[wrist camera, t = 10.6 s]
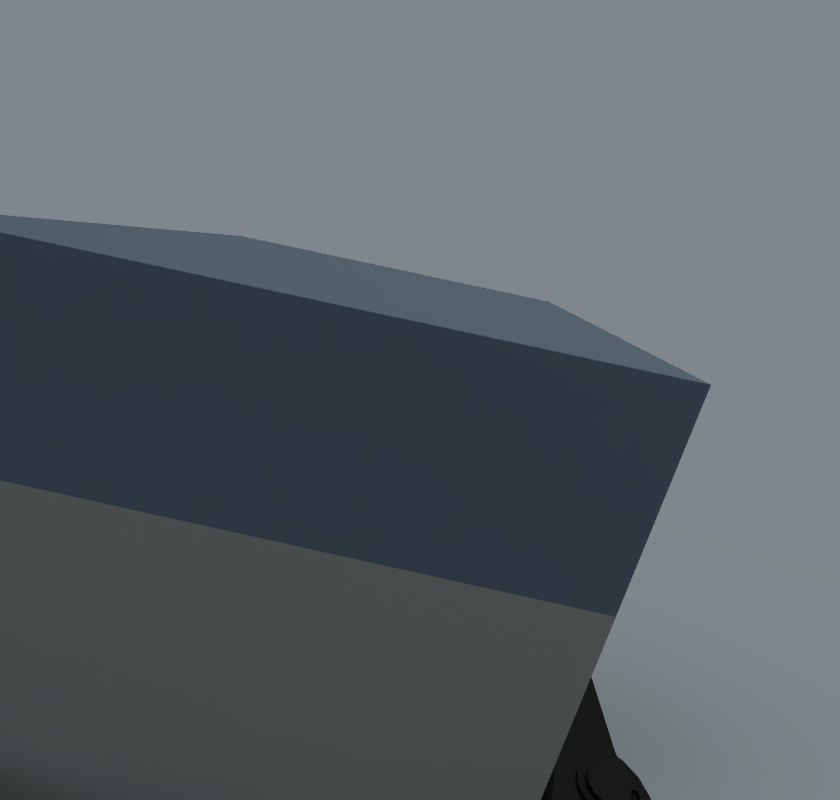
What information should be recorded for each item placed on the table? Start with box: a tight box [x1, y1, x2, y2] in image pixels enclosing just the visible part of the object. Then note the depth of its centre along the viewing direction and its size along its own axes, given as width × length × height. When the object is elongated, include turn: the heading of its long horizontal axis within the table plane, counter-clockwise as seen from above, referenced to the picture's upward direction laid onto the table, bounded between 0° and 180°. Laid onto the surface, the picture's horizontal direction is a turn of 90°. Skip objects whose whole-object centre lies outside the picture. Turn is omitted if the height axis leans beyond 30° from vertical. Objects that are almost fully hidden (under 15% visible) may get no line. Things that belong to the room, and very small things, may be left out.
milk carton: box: [0, 215, 711, 800], centre depth 8 cm, size 6×6×14 cm
